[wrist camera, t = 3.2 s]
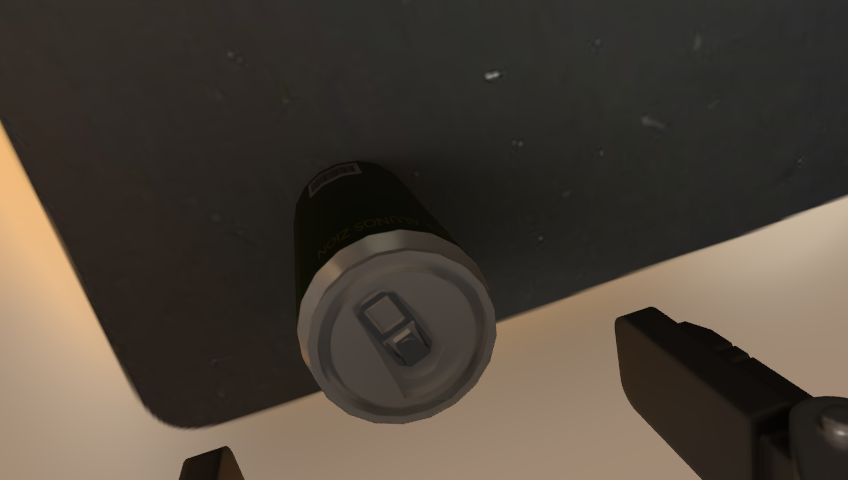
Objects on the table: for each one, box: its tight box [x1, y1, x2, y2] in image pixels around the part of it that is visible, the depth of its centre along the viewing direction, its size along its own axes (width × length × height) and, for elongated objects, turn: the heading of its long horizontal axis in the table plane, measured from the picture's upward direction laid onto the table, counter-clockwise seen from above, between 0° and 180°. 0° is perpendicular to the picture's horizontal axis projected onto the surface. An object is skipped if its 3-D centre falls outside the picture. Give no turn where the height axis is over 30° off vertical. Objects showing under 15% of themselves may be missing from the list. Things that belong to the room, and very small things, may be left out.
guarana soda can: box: [294, 161, 496, 424], centre depth 20 cm, size 5×5×12 cm
